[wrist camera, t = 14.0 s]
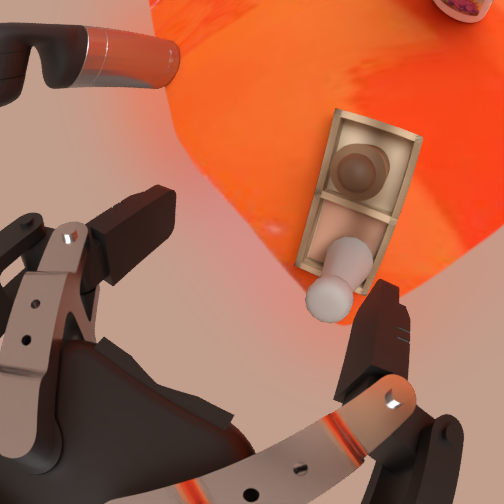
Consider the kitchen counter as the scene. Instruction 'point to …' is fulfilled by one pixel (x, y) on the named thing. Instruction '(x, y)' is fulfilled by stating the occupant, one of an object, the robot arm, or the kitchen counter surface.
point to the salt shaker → (339, 279)
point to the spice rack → (351, 211)
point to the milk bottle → (465, 9)
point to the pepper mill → (359, 171)
